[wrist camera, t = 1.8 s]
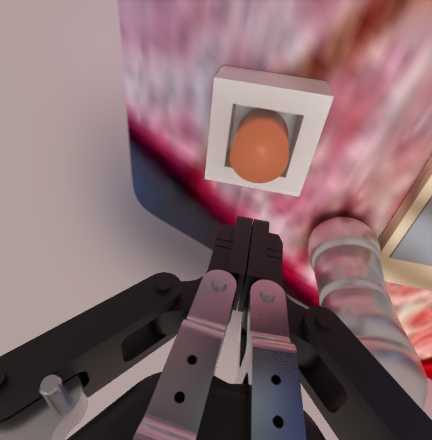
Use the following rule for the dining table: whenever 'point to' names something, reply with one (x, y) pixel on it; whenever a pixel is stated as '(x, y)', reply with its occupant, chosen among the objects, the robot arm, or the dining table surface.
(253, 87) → the button housing
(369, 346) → the plastic bottle
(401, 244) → the board
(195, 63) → the dining table surface
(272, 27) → the dining table surface
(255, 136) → the button cap
